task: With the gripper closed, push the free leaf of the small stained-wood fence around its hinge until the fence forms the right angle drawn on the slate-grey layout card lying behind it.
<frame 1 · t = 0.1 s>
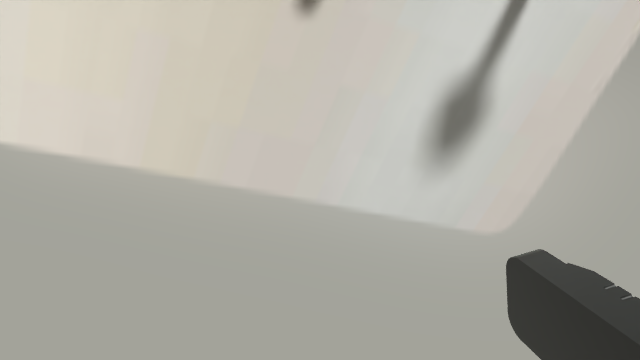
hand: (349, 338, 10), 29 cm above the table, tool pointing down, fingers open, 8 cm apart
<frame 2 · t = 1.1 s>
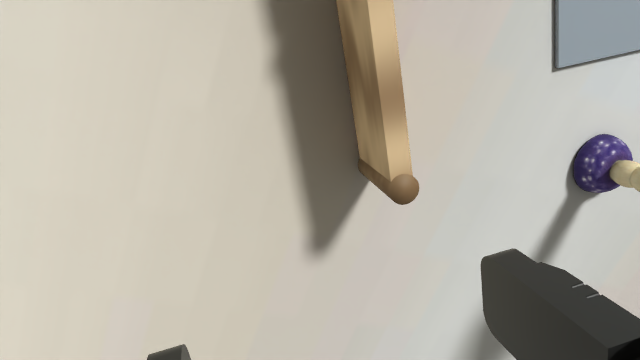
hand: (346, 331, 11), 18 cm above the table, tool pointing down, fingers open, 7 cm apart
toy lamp: (597, 165, 34), on the table
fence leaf: (372, 75, 24), point 3 cm above the table, hinge at 0.0°
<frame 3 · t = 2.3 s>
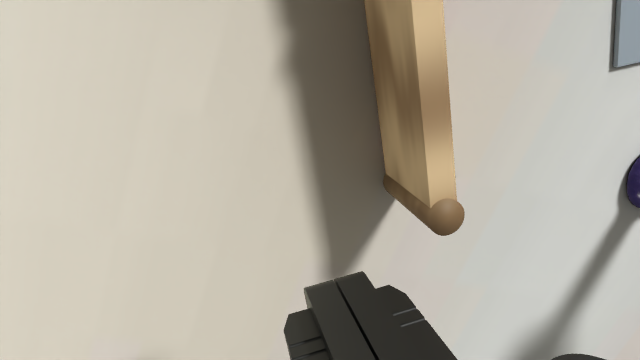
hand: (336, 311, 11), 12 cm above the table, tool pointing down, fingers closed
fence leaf: (407, 77, 20), point 3 cm above the table, hinge at 0.0°
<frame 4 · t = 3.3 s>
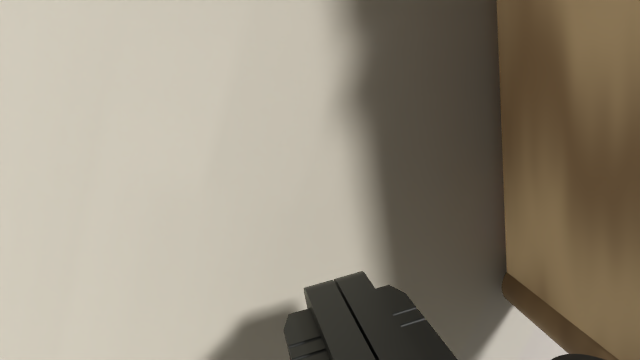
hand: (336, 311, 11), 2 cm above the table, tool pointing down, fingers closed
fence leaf: (594, 125, 10), point 3 cm above the table, hinge at 0.0°
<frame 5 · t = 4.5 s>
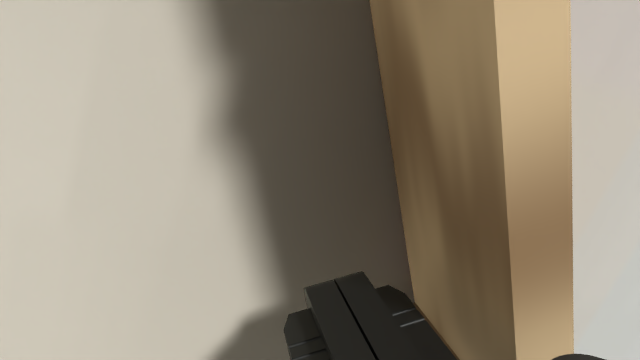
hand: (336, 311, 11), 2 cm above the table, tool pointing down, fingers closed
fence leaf: (462, 159, 10), point 3 cm above the table, hinge at 1.3°, touching gripper
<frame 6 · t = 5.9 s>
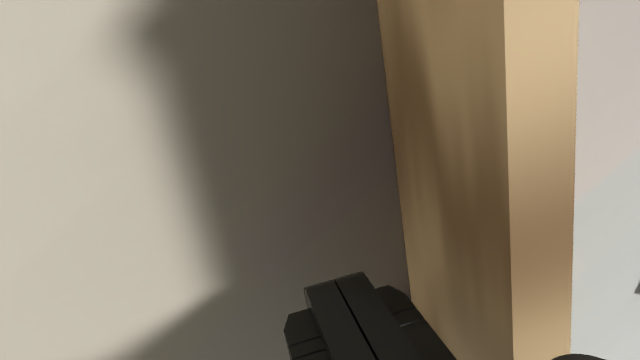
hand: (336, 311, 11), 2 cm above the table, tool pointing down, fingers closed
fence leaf: (465, 158, 10), point 3 cm above the table, hinge at 27.4°, touching gripper
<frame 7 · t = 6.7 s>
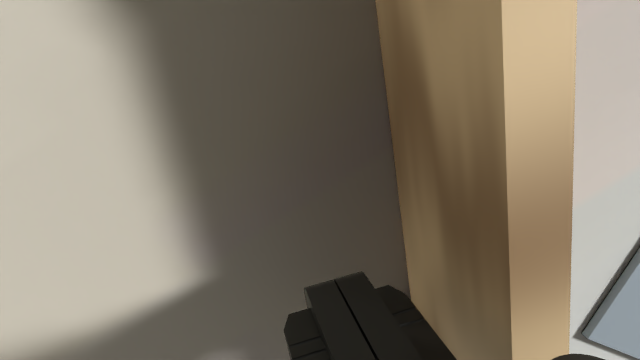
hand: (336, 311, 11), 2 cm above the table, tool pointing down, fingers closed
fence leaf: (464, 158, 10), point 3 cm above the table, hinge at 37.6°, touching gripper
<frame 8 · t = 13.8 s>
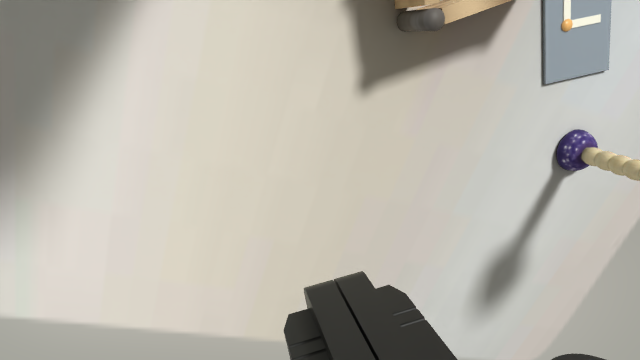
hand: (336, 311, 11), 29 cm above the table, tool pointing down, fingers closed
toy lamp: (573, 151, 47), on the table
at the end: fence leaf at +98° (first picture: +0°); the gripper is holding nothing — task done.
